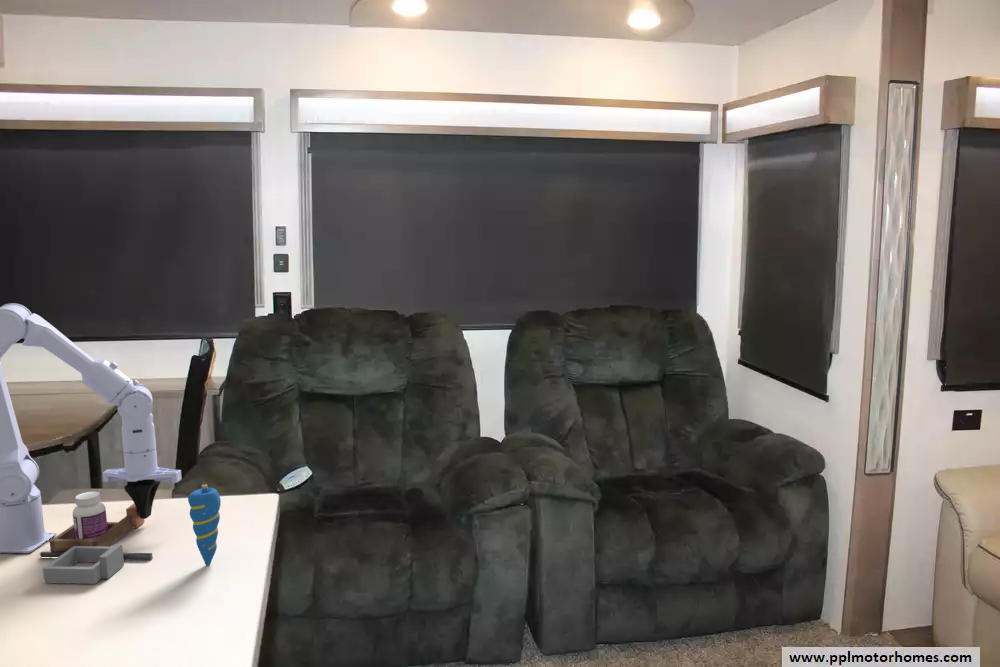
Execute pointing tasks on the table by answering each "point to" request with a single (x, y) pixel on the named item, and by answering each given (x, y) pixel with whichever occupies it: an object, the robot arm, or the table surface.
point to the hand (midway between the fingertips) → (145, 516)
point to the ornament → (205, 520)
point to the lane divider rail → (125, 555)
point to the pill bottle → (89, 516)
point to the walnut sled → (106, 539)
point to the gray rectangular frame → (103, 569)
